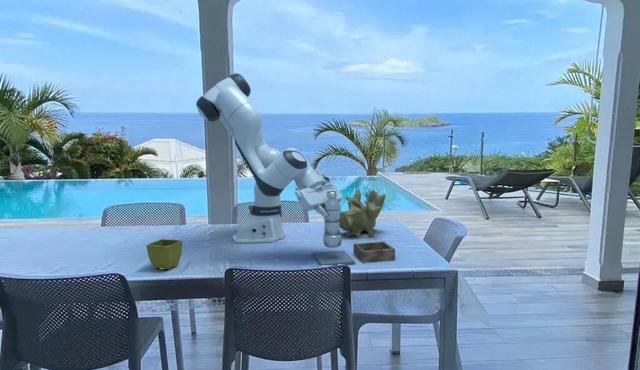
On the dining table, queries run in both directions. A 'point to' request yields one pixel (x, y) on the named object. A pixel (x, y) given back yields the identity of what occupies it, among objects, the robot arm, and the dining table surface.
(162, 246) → the flower pot
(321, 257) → the rubber mat
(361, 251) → the walnut collar
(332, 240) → the plastic bottle
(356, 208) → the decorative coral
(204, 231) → the dining table surface
